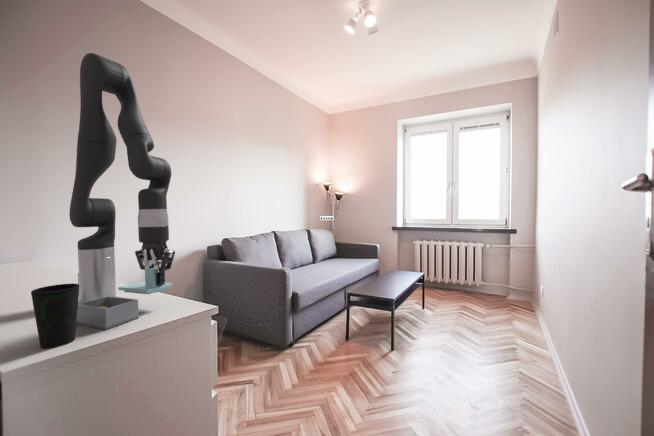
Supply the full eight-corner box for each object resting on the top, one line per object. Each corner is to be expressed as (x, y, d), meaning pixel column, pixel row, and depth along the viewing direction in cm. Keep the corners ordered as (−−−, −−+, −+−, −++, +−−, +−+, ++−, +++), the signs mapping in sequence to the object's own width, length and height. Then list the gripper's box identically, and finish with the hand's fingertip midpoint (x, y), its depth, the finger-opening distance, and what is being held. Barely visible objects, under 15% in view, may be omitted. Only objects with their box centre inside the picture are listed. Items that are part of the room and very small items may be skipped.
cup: (77, 332, 68) (75, 281, 68) (85, 340, 63) (83, 286, 63) (30, 344, 62) (28, 288, 62) (35, 354, 58) (33, 294, 57)
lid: (118, 292, 83) (117, 270, 83) (144, 286, 91) (143, 265, 91) (147, 295, 79) (146, 271, 79) (172, 288, 87) (172, 266, 87)
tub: (75, 324, 74) (74, 304, 73) (108, 313, 81) (107, 295, 81) (106, 329, 69) (105, 309, 69) (138, 318, 77) (138, 299, 77)
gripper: (124, 226, 82) (126, 286, 83) (159, 225, 77) (162, 289, 78) (148, 225, 89) (150, 280, 90) (182, 224, 84) (184, 283, 85)
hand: (156, 284), depth 84 cm, fingers closed on lid, 3 cm apart
